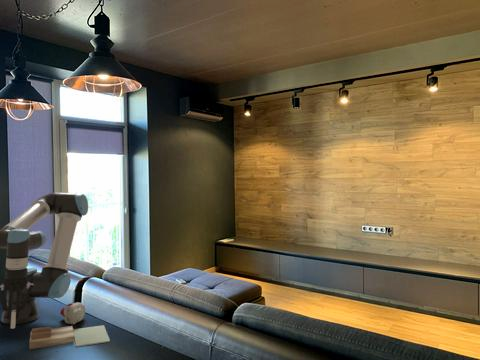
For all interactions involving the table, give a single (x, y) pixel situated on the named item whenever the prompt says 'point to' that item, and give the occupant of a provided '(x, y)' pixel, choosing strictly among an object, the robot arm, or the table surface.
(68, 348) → the table surface
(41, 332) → the walnut tile
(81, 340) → the sage mat
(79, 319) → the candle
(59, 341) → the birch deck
